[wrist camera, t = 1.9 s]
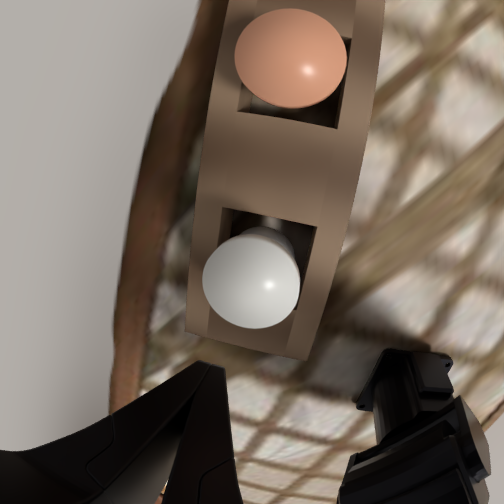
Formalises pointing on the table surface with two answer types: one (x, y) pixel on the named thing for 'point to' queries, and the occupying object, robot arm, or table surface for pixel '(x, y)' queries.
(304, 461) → the table surface
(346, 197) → the walnut panel
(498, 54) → the table surface
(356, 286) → the table surface
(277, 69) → the terracotta plunger
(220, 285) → the white domed knob
